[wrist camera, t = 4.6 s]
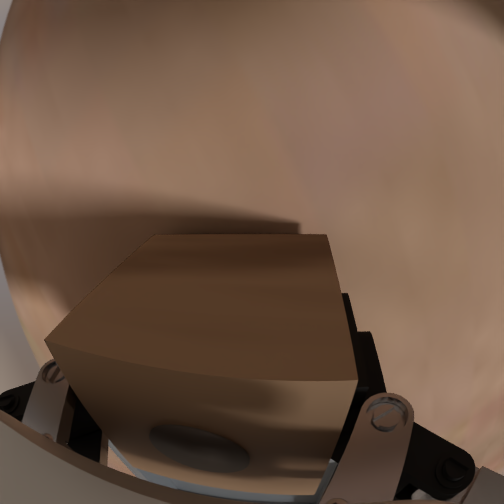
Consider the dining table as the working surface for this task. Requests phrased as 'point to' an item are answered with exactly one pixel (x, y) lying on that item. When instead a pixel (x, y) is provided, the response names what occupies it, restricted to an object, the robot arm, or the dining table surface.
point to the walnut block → (217, 359)
